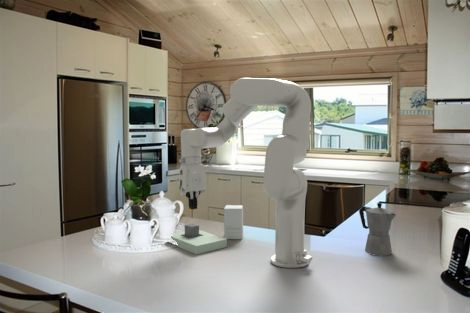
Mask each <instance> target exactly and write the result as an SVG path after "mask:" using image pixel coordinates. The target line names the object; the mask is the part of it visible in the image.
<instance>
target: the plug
mask: <svg viewBox="0 0 470 313" xmlns="http://www.w3.org/2000/svg"><path fill="white" fill-rule="evenodd" d="M199 230H200V224H199V225H198V224H194V223H187V224H184V231H185V237H186V238H194V237H199Z"/></svg>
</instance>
